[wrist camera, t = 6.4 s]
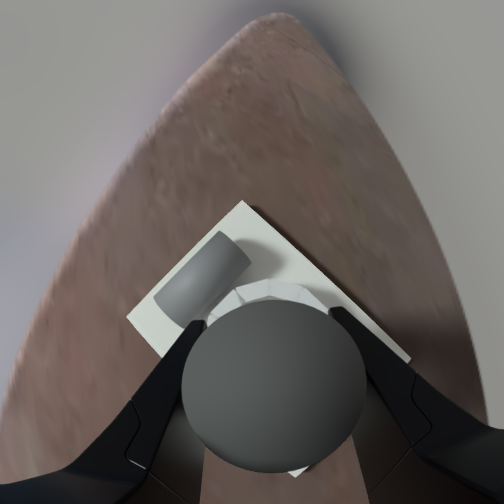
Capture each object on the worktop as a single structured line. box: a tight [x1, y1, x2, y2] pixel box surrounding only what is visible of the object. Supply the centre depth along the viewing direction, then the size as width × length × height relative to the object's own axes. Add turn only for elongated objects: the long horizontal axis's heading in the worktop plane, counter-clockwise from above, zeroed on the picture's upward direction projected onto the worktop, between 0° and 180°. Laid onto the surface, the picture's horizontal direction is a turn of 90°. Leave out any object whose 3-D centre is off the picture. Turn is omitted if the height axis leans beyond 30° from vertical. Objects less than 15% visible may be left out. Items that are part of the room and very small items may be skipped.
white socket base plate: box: [127, 201, 411, 477], centre depth 19 cm, size 17×12×4 cm
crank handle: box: [182, 300, 367, 473], centre depth 10 cm, size 4×4×10 cm
